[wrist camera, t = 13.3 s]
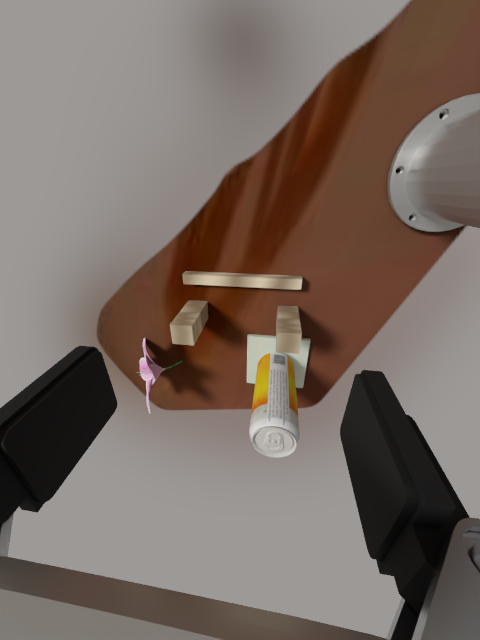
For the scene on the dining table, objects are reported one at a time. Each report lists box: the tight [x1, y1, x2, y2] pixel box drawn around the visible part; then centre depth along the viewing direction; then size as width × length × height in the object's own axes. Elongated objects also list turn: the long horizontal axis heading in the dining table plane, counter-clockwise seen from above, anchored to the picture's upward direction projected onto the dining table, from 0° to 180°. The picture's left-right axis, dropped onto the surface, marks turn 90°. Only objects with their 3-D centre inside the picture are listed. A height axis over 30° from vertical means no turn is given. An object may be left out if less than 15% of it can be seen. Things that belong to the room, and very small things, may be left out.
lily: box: [137, 338, 182, 413], centre depth 43 cm, size 12×12×10 cm
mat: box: [247, 334, 310, 388], centre depth 43 cm, size 10×10×1 cm
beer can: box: [249, 352, 300, 457], centre depth 36 cm, size 6×6×15 cm
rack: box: [170, 271, 302, 354], centre depth 35 cm, size 17×8×8 cm, turn 90°
